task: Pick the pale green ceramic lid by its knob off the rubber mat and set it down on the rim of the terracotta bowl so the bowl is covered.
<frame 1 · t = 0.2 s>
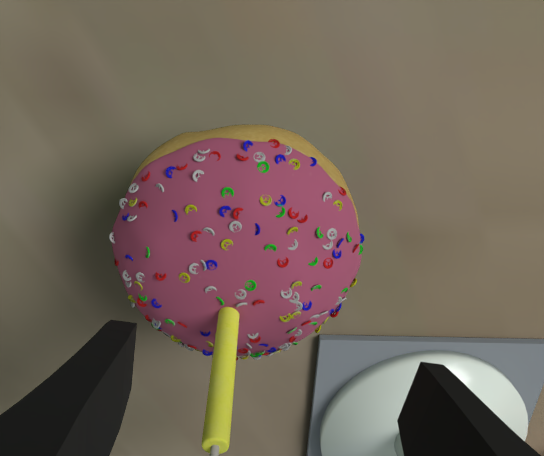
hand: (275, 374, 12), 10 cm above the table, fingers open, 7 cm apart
lid: (419, 430, 26), resting on mat
mat: (417, 424, 26), on the table
cupcake: (241, 199, 21), on the table
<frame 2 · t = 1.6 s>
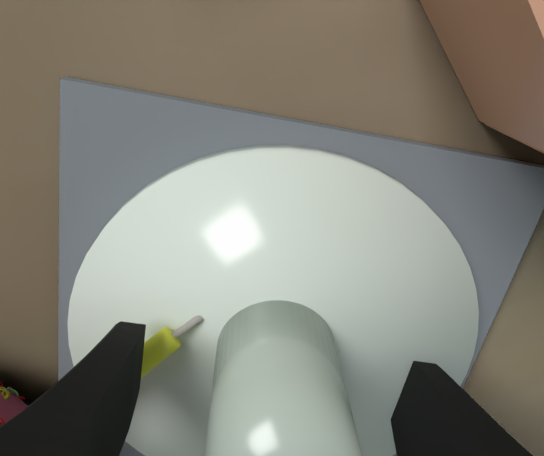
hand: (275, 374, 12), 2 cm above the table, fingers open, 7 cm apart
lid: (274, 332, 14), resting on mat, touching cupcake
mat: (275, 326, 14), on the table
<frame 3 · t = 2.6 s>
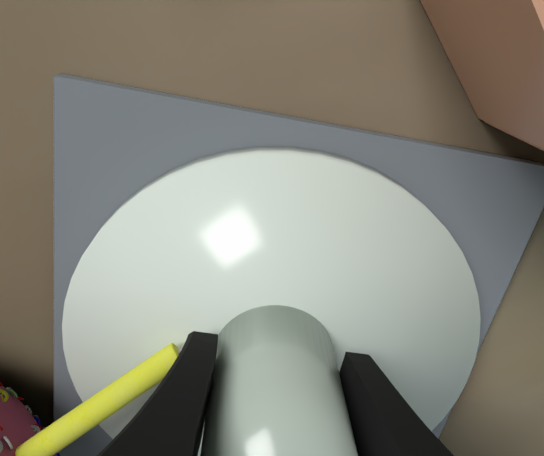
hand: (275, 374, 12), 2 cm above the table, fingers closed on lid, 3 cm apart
lid: (272, 336, 13), resting on mat, touching gripper
mat: (272, 326, 14), on the table
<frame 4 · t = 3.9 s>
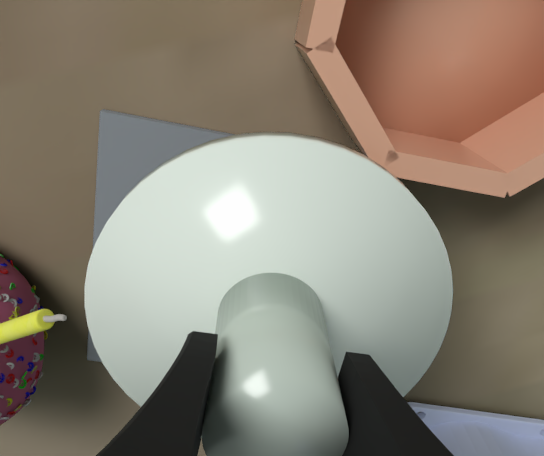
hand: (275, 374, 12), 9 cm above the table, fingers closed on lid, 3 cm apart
lid: (269, 303, 15), point 6 cm above the table, touching gripper
mat: (231, 267, 21), on the table
bowl: (449, 9, 17), on the table
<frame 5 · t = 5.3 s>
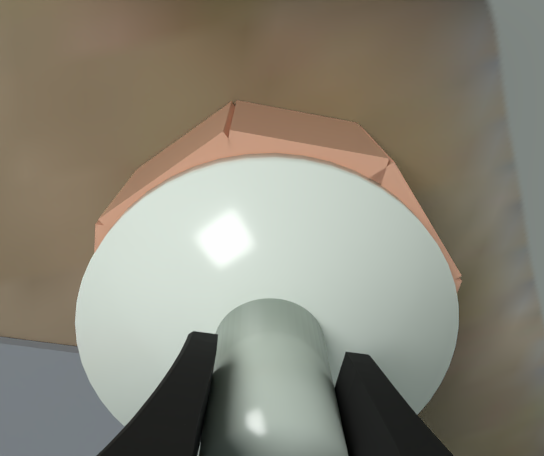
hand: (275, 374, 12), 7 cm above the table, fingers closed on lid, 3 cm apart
lid: (268, 328, 14), point 4 cm above the table, touching bowl, gripper
mat: (99, 450, 23), on the table
bowl: (269, 247, 18), on the table
when the fingers open (7 cm above the table, at t = 5.7 s): lid stays where it is, resting on bowl.
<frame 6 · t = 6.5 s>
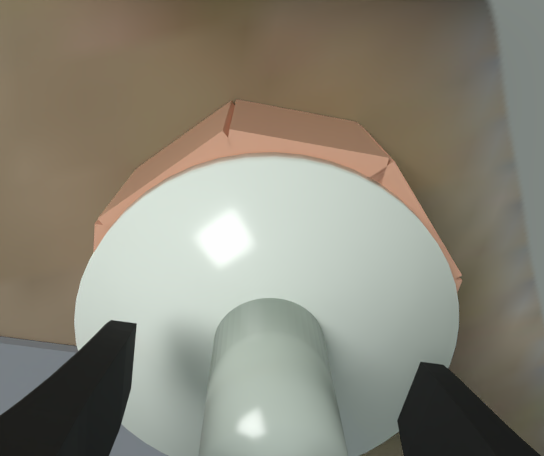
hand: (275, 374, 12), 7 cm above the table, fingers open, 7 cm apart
lid: (268, 328, 14), point 4 cm above the table, touching bowl
mat: (98, 449, 23), on the table
bowl: (268, 247, 18), on the table
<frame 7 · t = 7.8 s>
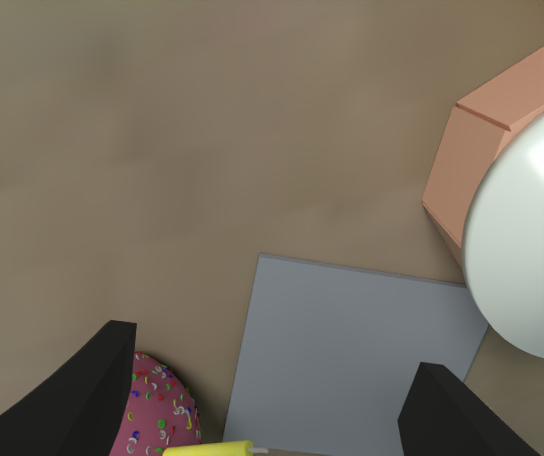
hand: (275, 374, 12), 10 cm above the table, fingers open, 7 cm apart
mat: (350, 368, 25), on the table
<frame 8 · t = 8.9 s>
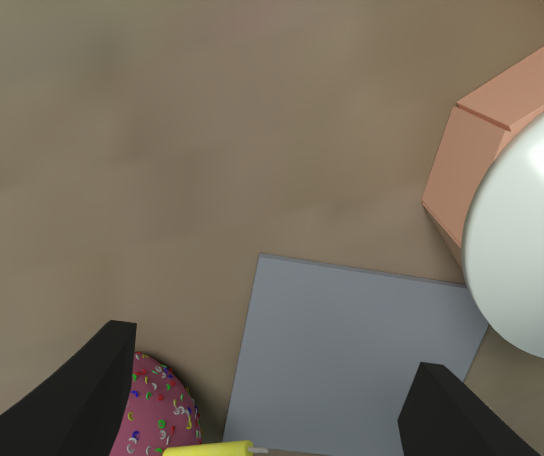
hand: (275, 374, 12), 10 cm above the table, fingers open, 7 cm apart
mat: (350, 368, 25), on the table
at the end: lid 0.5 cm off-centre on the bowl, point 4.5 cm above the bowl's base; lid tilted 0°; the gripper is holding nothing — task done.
